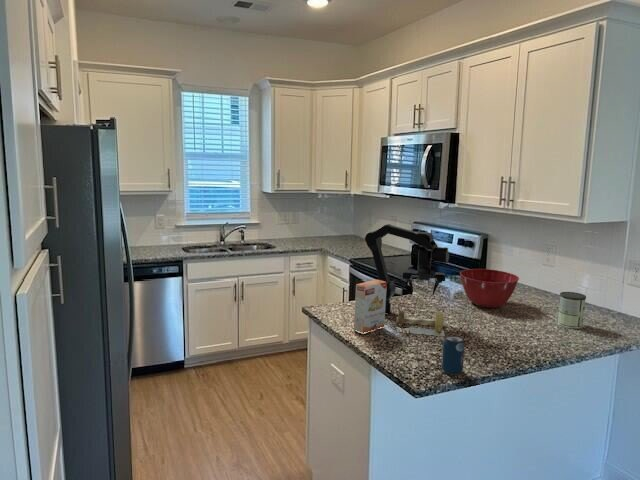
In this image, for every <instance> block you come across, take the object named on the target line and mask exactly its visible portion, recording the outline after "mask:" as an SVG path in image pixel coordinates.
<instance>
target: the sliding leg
mask: <svg viewBox="0 0 640 480" xmlns="http://www.w3.org/2000/svg"><path fill="white" fill-rule="evenodd" d="M434 315H435V316H434V319H435V326H434V329H436V330H438V331H440V330H443V327H442V325H443V324H444V313H443V312H440V311H435V314H434ZM443 326H444V325H443Z"/></svg>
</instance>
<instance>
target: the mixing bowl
mask: <svg viewBox="0 0 640 480" xmlns="http://www.w3.org/2000/svg"><path fill="white" fill-rule="evenodd" d="M459 275H460V279H461V284H462V287H463V290H464V292H465V295H466V297H467V298H468V300H469V301H470V302H471V303H473V305H475V304H476V306H478V307H481V306H482V308H490V309H494V308H495V309H496V308H499V307H502V306H503V305H505V304H506V303H507V302H508V301H509V300H510V298H511V297H512V295H513V293H514V291H515V289H516V287H517V284H518V282H519V280H520V277H519V276H518V275H517V274H514V273H512V272H511V273H510V272H507V271H503V270H497V269H488V268H471V269H464V270H461V271H460V272H459Z"/></svg>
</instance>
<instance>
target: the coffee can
mask: <svg viewBox="0 0 640 480" xmlns="http://www.w3.org/2000/svg"><path fill="white" fill-rule="evenodd" d="M586 299H587V296H586V295H585V294H583V293H581V292H580V293H579V292H574V291H562V292H560V293H559V303H558V304H559V305H558V312H557V313H558V314H557V325H559V326H561V327H563V328H568V329H582V328H583V327H584V317H585V307H586Z"/></svg>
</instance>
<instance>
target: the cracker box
mask: <svg viewBox="0 0 640 480" xmlns="http://www.w3.org/2000/svg"><path fill="white" fill-rule="evenodd" d="M386 289H387V282H385V281H381V280H379V279H373V280H370V281H365V282H360V283H357V284H355V298H354V317H353V320H354V322H353V331H354V330H357V331H360V332H363V333H364V332H368V331H371V330H374V329H377V328H380V327H384V328H385V321H386V320H385V318H386V315H385V306H386Z"/></svg>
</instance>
